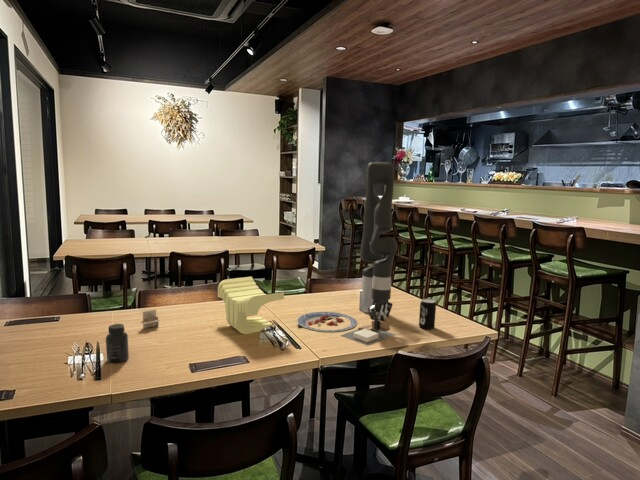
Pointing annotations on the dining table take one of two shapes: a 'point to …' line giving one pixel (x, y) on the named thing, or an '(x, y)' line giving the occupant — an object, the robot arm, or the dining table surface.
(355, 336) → the tile
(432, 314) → the beverage can
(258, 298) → the slatted curved stool
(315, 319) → the ceramic plate
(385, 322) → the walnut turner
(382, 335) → the slate board
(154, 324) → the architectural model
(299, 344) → the dining table surface
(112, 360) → the supplement bottle
